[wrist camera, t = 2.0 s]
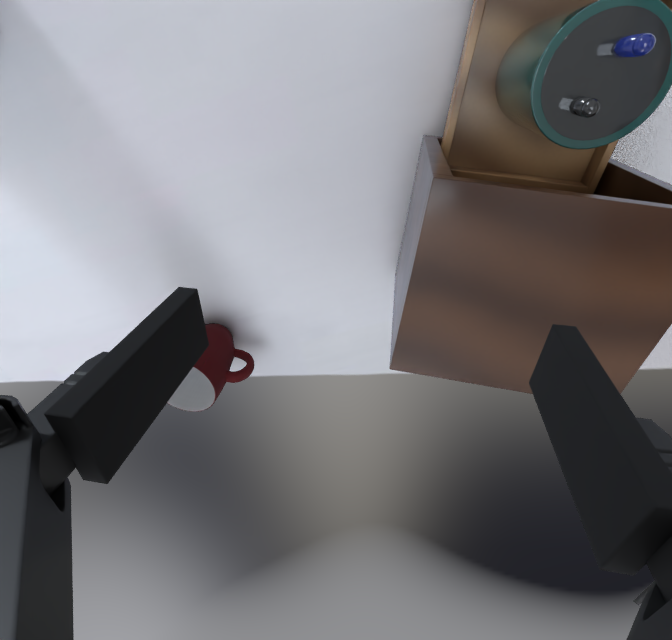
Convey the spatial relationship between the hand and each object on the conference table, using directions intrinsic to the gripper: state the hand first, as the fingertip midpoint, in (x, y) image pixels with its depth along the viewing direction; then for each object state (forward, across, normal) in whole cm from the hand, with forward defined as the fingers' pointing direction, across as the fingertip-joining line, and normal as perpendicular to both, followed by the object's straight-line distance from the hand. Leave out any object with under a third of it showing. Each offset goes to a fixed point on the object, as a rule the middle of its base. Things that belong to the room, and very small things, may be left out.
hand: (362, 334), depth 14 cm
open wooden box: (+26, +10, -4) cm, 28 cm away
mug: (+26, -20, -22) cm, 39 cm away
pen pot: (+25, +11, +8) cm, 28 cm away
